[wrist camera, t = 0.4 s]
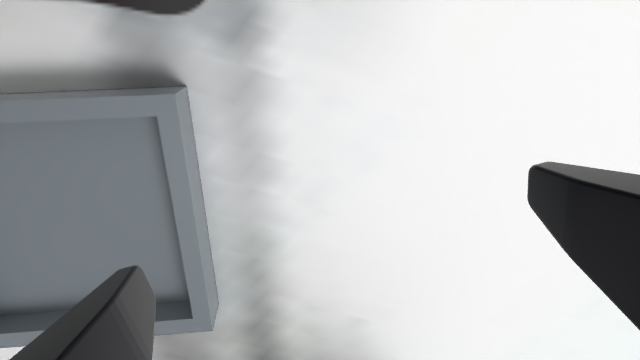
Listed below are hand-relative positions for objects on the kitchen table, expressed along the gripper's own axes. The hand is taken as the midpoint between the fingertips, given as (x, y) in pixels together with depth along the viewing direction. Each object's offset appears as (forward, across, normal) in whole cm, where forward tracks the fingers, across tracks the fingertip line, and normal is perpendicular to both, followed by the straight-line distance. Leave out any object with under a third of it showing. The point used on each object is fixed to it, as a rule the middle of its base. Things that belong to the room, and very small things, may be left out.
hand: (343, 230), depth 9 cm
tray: (+15, +13, +4) cm, 20 cm away
